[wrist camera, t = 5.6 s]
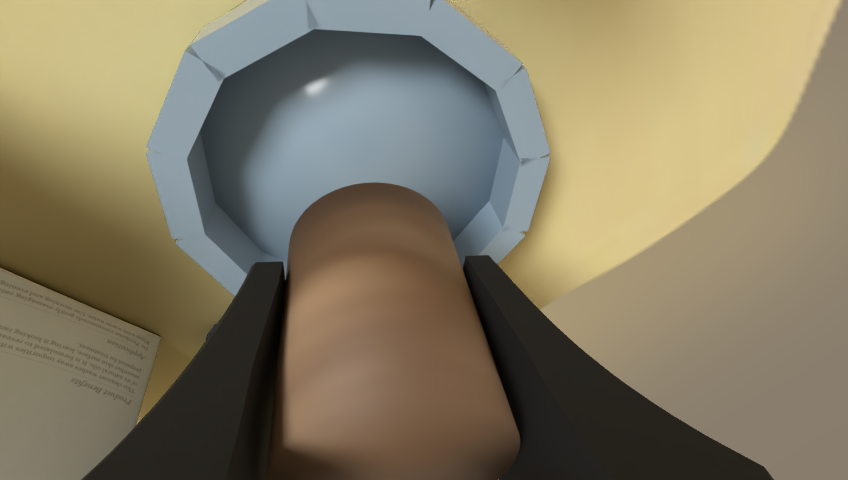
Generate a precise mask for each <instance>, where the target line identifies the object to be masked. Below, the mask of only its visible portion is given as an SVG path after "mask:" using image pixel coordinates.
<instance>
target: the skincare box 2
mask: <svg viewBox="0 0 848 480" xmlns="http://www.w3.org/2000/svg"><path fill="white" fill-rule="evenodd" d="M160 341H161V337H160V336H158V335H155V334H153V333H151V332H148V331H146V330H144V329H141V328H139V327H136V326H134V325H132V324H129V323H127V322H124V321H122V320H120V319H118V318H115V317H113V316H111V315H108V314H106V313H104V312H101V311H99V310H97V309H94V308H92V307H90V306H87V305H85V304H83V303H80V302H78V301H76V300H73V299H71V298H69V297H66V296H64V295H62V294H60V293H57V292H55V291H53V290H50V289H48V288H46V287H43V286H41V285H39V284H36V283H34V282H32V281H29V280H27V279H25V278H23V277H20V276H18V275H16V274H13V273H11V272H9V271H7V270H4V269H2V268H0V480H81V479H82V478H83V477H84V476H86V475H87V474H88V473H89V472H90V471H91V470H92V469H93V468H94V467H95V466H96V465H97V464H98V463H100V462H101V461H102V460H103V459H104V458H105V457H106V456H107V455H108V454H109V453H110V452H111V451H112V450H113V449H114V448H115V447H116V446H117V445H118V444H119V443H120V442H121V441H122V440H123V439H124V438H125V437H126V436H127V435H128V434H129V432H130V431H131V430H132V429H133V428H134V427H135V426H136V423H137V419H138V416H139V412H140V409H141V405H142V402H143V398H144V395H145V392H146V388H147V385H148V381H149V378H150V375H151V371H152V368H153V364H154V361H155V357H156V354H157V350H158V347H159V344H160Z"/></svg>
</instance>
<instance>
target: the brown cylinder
mask: <svg viewBox="0 0 848 480" xmlns="http://www.w3.org/2000/svg"><path fill="white" fill-rule="evenodd" d="M519 449H520V435H519V432H518V429H517V426H516V423H515V420H514V418H513V415H512V412H511V409H510V406H509V403H508V400H507V397H506V394H505V391H504V388H503V385H502V383H501V380H500V377H499V374H498V371H497V368H496V365H495V362H494V359H493V356H492V353H491V350H490V348H489V345H488V342H487V339H486V336H485V333H484V330H483V327H482V324H481V321H480V318H479V316H478V313H477V310H476V307H475V304H474V301H473V298H472V295H471V292H470V289H469V286H468V283H467V281H466V278H465V275H464V272H463V269H462V266H461V263H460V260H459V257H458V254H457V251H456V248H455V246H454V243H453V240H452V237H451V234H450V231H449V228H448V225H447V223H446V220H445V218H444V217H443V215H442V213H441V212H440V210H439V209H438V208H437V207H436V206H435V205H434V204H433V203H432V202H431V201H430V200H429V199H427V198H426V197H424V196H423V195H421V194H420V193H418V192H416V191H413V190H411V189H409V188H406V187H403V186H400V185H395V184H390V183H379V182H373V183H360V184H354V185H350V186H346V187H342V188H340V189H337V190H334V191H332V192H330V193H328V194H326V195H324V196H322V197H321V198H319V199H318V200H317V201H315V202H314V203H312V204H311V205H310V206H309V207H308V208H307V209H306V210H305V211H304V212H303V214H302V215H301V216H300V217H299V219H298V220H297V222H296V224H295V225H294V228H293V230H292V233H291V237H290V241H289V250H288V260H287V270H286V280H285V290H284V300H283V310H282V320H281V331H280V341H279V351H278V361H277V371H276V381H275V391H274V401H273V411H272V421H271V431H270V441H269V451H268V461H267V471H266V480H498V479H499V478H500V477H501V476H502V475H504V474H505V473H506V471H507V470H508V469H509V468H510V467H511V466H512V464H513V463H514V461H515V459H516V458H517V455H518V453H519Z"/></svg>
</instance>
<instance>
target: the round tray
mask: <svg viewBox="0 0 848 480" xmlns="http://www.w3.org/2000/svg"><path fill="white" fill-rule="evenodd" d="M522 64H523V63H522V62H521V61H520V60H519V59H518V58H517V57H516V56H515V55H514V54H513V53H511V52H510V51H509V50H508V49H507V48H506V47H505V46H504V45H503V44H502V43H501V42H500V41H498V40H497V39H496V38H495V37H493V36H492V35H491V34H490V33H488V32H487V31H486V30H485V29H483V28H482V27H481V26H480V25H478V24H477V23H476V22H475V21H473V20H472V19H471V18H470V17H469V16H468V15H467V14H465V13H464V12H463V11H462V10H461V9H459V8H458V7H457V6H455V5H454V4H452V3H451V2H450V1H449V0H245V1H244V2H242V3H241V4H240V5H238V6H237V7H235V8H234V9H232V10H231V11H230V12H228V13H226V14H225V15H223V16H221V17H219V18H218V19H216V20H214V21H212V22H211V23H209V24H207V25H205V26H204V28H203V29H202V30H201V31H200V32H199V33H198V35H197V36H196V37H195V39H194V40H193V41H192V42H191V44H190V45H189V46H188V48H187V49H186V50H185V52H184V54H183V57H182V59H181V62H180V64H179V67H178V69H177V72H176V74H175V77H174V79H173V82H172V84H171V87H170V89H169V92H168V94H167V97H166V99H165V101H164V104H163V106H162V109H161V111H160V114H159V116H158V119H157V121H156V124H155V126H154V129H153V131H152V134H151V136H150V139H149V141H148V144H147V146H146V147H147V148H149V150H148V151H147V153H146V155H147V158H148V162H149V165H150V168H151V172H152V175H153V178H154V182H155V185H156V188H157V191H158V195H159V198H160V201H161V205H162V208H163V211H164V214H165V218H166V221H167V224H168V228H169V231H170V234H171V238H172V239H177V241H176V245H177V246H178V247H179V248H180V249H182V250H183V251H184V252H185V253H186V254H187V255H188V256H189V257H191V258H192V259H193V260H194V261H195V262H196V263H197V264H198V265H200V266H201V267H202V268H203V269H204V270H205V271H206V272H208V273H209V274H210V275H211V276H212V277H213V278H214V279H215V280H217V281H218V282H219V283H220V284H221V285H222V286H223V287H224V288H226V289H227V290H228V291H229V292H230V293H231V294H232V295H234V296H236V294H237V293H238V291H239V289H240V287H241V286H242V284H243V282H244V280H245V278H246V276H247V274H248V272H249V270H250V268H251V266H252V265H253V264H255V263H256V262H279V261H283V265H284V273H285V280H286V270H287V260H288V250H289V241H290V237H291V233H292V230H293V228H294V225H295V224H296V222H297V220H298V219H299V217H300V216H301V215H302V214H303V212H304V211H305V210H306V209H307V208H308V207H309V206H310V205H311V204H312V203H314V202H315V201H317V200H318V199H319V198H321V197H322V196H324V195H326V194H328V193H330V192H332V191H334V190H337V189H340V188H342V187H346V186H350V185H354V184H360V183H373V182H379V183H390V184H395V185H400V186H403V187H406V188H409V189H411V190H413V191H416V192H418V193H420V194H421V195H423V196H424V197H426V198H427V199H429V200H430V201H431V202H432V203H433V204H434V205H435V206H436V207H437V208H438V209H439V210H440V212H441V213H442V215H443V217H444V218H445V220H446V223H447V225H448V228H449V231H450V234H451V237H452V240H453V243H454V246H455V248H456V251H457V254H458V257H459V260H460V263H461V266H462V269H463V266H464V261H465V256H476V255H489V256H490V257H491V258H492V259H493V261H494V262H495V263H496V264H498V263H499V262H500V261H501V260H502V259H503V258H504V257H505V256H506V255H507V254H508V253H509V252H510V251H511V250H512V249H513V248H514V247H515V246H516V245H517V244H518V243H519V242H520V241H521V240H522V239H523V238H524V237H525V234H524V233H523V231H528V230H529V226H530V223H531V220H532V217H533V213H534V210H535V207H536V204H537V200H538V197H539V194H540V191H541V187H542V184H543V181H544V177H545V174H546V171H547V168H548V164H549V161H550V157H549V156H548V155H547V154H549V153H550V149H549V146H548V142H547V139H546V135H545V132H544V128H543V125H542V121H541V118H540V114H539V111H538V108H537V104H536V101H535V97H534V94H533V90H532V87H531V83H530V80H529V76H528V73H527V69H526V68H525V67H524V66H523V65H522Z"/></svg>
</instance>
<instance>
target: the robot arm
mask: <svg viewBox="0 0 848 480" xmlns="http://www.w3.org/2000/svg"><path fill="white" fill-rule="evenodd" d="M463 272H464V275H465V278H466V281H467V283H468V286H469V289H470V292H471V295H472V298H473V301H474V304H475V307H476V310H477V313H478V316H479V318H480V321H481V324H482V327H483V330H484V333H485V336H486V339H487V342H488V345H489V348H490V350H491V353H492V356H493V359H494V362H495V365H496V368H497V371H498V374H499V377H500V380H501V383H502V385H503V388H504V391H505V394H506V397H507V400H508V403H509V406H510V409H511V412H512V415H513V418H514V420H515V423H516V426H517V429H518V432H519V435H520V449H519V453H518V455H517V458H516V459H515V461H514V463H513V464H512V466H511V467H510V468H509V469H508V470H507V471H506V473H505V474H504V475H502V476H501V477H500V478H499V480H774V479H773V478H772V477H771V475H770V474H769V473H768V471H767V470H766V469H765V468H764V467H763V466H761V465H760V464H758V463H756V462H754V461H752V460H750V459H748V458H747V457H745V456H743V455H741V454H739V453H737V452H735V451H734V450H732V449H730V448H728V447H726V446H724V445H722V444H721V443H719V442H717V441H715V440H713V439H711V438H709V437H708V436H706V435H704V434H702V433H701V432H699V431H697V430H696V429H694V428H692V427H691V426H689V425H688V424H686V423H684V422H683V421H681V420H679V419H678V418H676V417H674V416H673V415H671V414H670V413H668V412H666V411H665V410H663V409H662V408H660V407H659V406H657V405H655V404H654V403H653V402H651V401H650V400H648V399H647V398H645V397H644V396H642V395H641V394H640V393H638V392H637V391H635V390H634V389H632V388H631V387H629V386H628V385H627V384H625V383H624V382H622V381H621V380H620V379H618V378H617V377H616V376H614V375H613V374H612V373H610V372H609V371H608V370H607V369H605V368H604V367H603V366H601V365H600V364H599V363H598V362H597V361H595V360H594V359H593V358H592V357H590V356H589V355H588V354H587V353H585V352H584V351H583V350H582V349H581V348H579V347H578V346H577V345H576V344H575V343H574V342H573V341H572V340H570V339H569V338H568V337H567V336H566V335H565V334H564V333H563V332H562V331H560V329H558V328H557V327H556V326H555V325H554V324H553V323H552V322H551V321H550V320H549V319H548V318H547V317H546V316H545V315H544V314H543V313H542V312H541V311H540V310H539V309H538V308H537V307H536V306H535V305H534V304H533V303H532V302H531V301H530V300H529V299H528V298H527V297H526V295H525V294H524V293H523V292H522V291H521V290H520V289H519V288H518V287H517V286H516V285H515V284H514V283H513V281H512V280H511V279H510V278H509V277H508V276H507V275H506V274H505V273H504V272H503V270H502V269H501V268H500V267H499V266H498V265H497V264H496V263H495V262H494V261H493V259H492V258H491V257H490V256H489V255H476V256H465V261H464V266H463ZM284 290H285V273H284V265H283V261H279V262H256V263H255V264H253V265H252V266H251V268H250V270H249V272H248V274H247V276H246V278H245V280H244V282H243V284H242V286H241V287H240V289H239V291H238V293H237V294H236V296H235V298H234V299H233V301H232V303H231V304H230V306H229V308H228V309H227V311H226V312H225V314H224V315H223V317H222V318H221V320H220V321H219V323H218V324H217V326H216V327H215V329H214V330H213V332H212V333H211V335H210V336H209V338H208V339H207V340H206V342H205V343H204V344H203V346H202V347H201V349H200V350H199V351H198V353H197V354H196V355H195V357H194V358H193V359H192V361H191V362H190V363H189V365H188V366H187V367H186V369H185V370H184V371H183V372H182V374H181V375H180V376H179V377H178V379H177V380H176V381H175V382H174V383H173V385H172V386H171V387H170V388H169V389H168V391H167V392H166V393H165V394H164V395H163V396H162V398H161V399H160V400H159V401H158V402H157V403H156V404H155V406H154V407H153V408H152V409H151V410H150V411H149V412H148V413H147V414H146V415H145V417H144V418H143V419H142V420H141V421H140V422H139V423H138V424H137V425H136V426H135V427H134V428H133V429H132V430H131V431H130V432H129V434H128V435H127V436H126V437H125V438H124V439H123V440H122V441H121V442H120V443H119V444H118V445H117V446H116V447H115V448H114V449H113V450H112V451H111V452H110V453H109V454H108V455H107V456H106V457H105V458H104V459H103V460H102V461H101V462H100V463H98V464H97V465H96V466H95V467H94V468H93V469H92V470H91V471H90V472H89V473H88V474H87V475H86V476H84V477H83V478H82V479H81V480H266V471H267V461H268V451H269V441H270V431H271V421H272V411H273V401H274V391H275V381H276V371H277V361H278V351H279V341H280V331H281V320H282V310H283V300H284Z"/></svg>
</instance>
